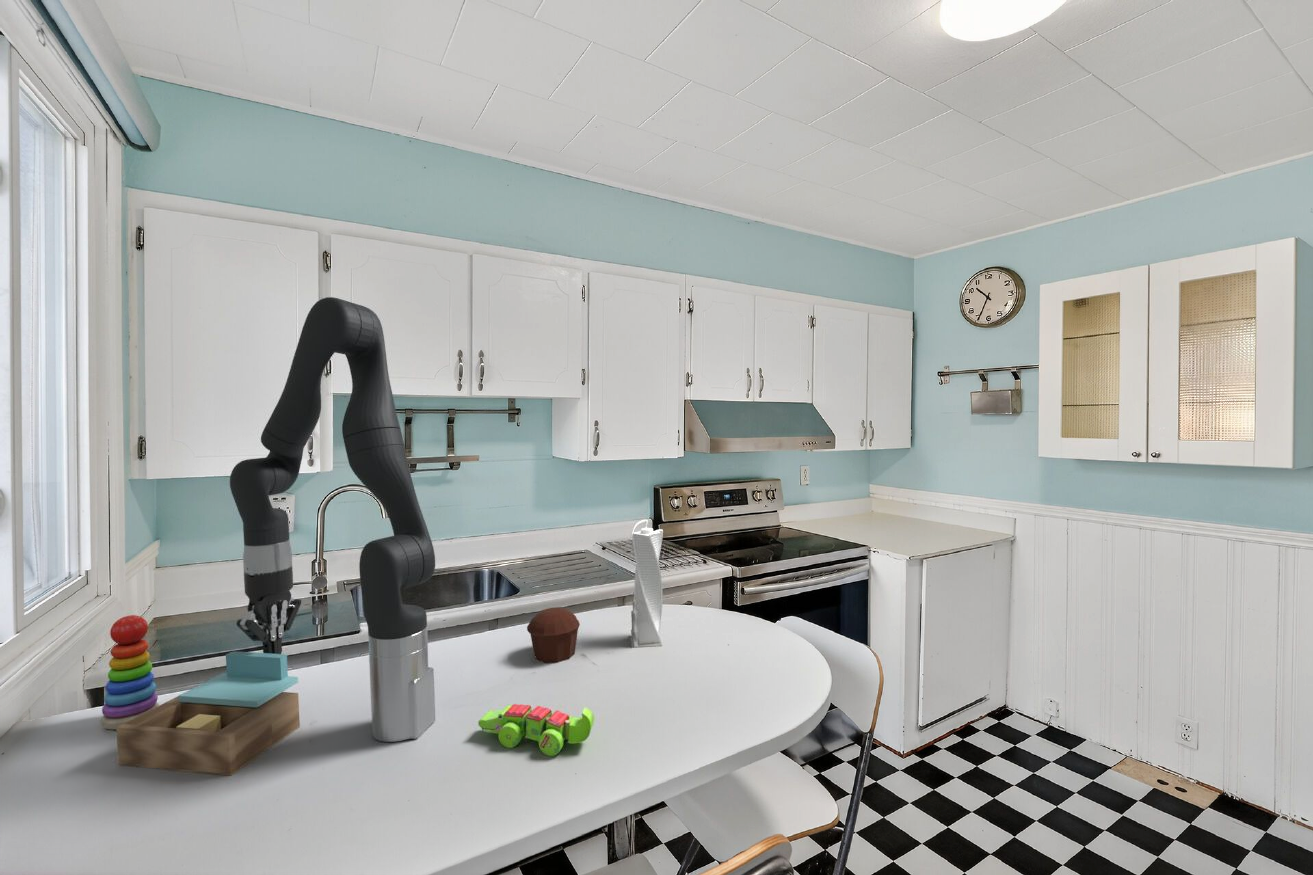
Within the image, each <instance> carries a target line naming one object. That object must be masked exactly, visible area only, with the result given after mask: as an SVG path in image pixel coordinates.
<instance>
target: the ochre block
mask: <svg viewBox="0 0 1313 875" xmlns="http://www.w3.org/2000/svg"><path fill="white" fill-rule="evenodd" d="M176 729H188V730H200V731H213V732H218V731H220V730H221V719H220V716H217V715H204V714H198V715H197V716H195V717H193V718H191V719H189V720H188V721H186V722H184V723H182V724H181V725H179V726H177V727H176Z"/></svg>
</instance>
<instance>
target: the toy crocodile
mask: <svg viewBox="0 0 1313 875" xmlns="http://www.w3.org/2000/svg"><path fill="white" fill-rule="evenodd" d="M594 721H595V716H594V713H593V712H592V710H591V709H589V708H588V707H586V706H584V707H583V709H582V711H581V717H572V716H571V715H569V714H567V713H565V712H563V711H560V710H558V709H557V710H555V711H554V712H553V711H552V709H551V708H549V707H543V706H541V705H536V707H534V708H532V706H531V705H530V704H517V703H513V704H508V705H507V706H505V707H504V708H501V709H498V710H497V709H496V710H494V709H493V710H492V709H489V710H488V711H487V713H485V714H484V715H483V716H482V717H481V718H480V719H479V720H478V726H479V728H480V729H481V730H482V732H484V733H490V734H496V735H498V740H499V742H500V744H501V745H502V746H504V747H505V748H511V749H512V748H514V747H516V746H518V744H519V743H520V742H521V741H522V739H523V737H524V736H525V737H526V738H525V739H530V740H533V741H536V742H538V747H539V750H540V752H542V753H543V754H544V755H546V756H549V757H550V756H551V757H554V756H556V755H558V753H560V751H561V750H562V749H563V748H564V742H565V740H568V742H567V743H568V744H580V743H583V742H585V741H586V740H587V739H588V738H589V736H590V734H591V731H592V729H593V726H594Z"/></svg>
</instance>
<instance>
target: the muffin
mask: <svg viewBox="0 0 1313 875" xmlns="http://www.w3.org/2000/svg"><path fill="white" fill-rule="evenodd" d="M580 625H581V624H580V621H579V620H578V618H577V616H576V615H575V614H574V613H573V612H572V611H570V610H568V609H566V608H563V607H557V606H555V607H548V608H546V609H542V610H541V611H539V612H538V613H537V614H536V615H534V616H533V617H532V618H531V620H530V622H529V623H528V625H527V626H526V630H527V632H528V633H529V634H530V640H531V645H532V649H533V650H532V651H533V655H534V657H535V660H536V661H538V662H542V663H543V664H549V663H553V664H554V663H555V664H556V663H557V664H558V663H560V662H563V661H568V660H570V659H571V658H572V657H573V656H574V655H575V654H576V649H577V648H576V647H577V640H578V632H579V627H580Z"/></svg>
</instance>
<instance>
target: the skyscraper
mask: <svg viewBox="0 0 1313 875" xmlns="http://www.w3.org/2000/svg"><path fill="white" fill-rule="evenodd" d="M642 523H645V527H643V528H641V529H640V530H639V531H635V530H636V527H637V526H638V525H640V524H642ZM648 523H649V520H648V519H642V520H640V521H638V522H637V523H636V524H635V525H634V527H633V529H632V531H631V539H632V546H633V554H634V559H635V572H634V586H633V587H634V592H633V595H632V597H633V599H632V610H631V611H630V612H631V613H630V614H631V630H630V635H629V641H630V647H631V649H636V648H637V649H638V648H652V647H662V646H663V645H662V644H663V643H662V641H661V637H660V629H661V623H662V614H663V613H662V612H663V580H662V578H663V577H662V573H661V568H660V563H659V561H660V555H661V549H662V543H663V538H664V537H663V536H664V530H663V528H662V529H661V528H660V529H656V530H654V528H652V527H648Z"/></svg>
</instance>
